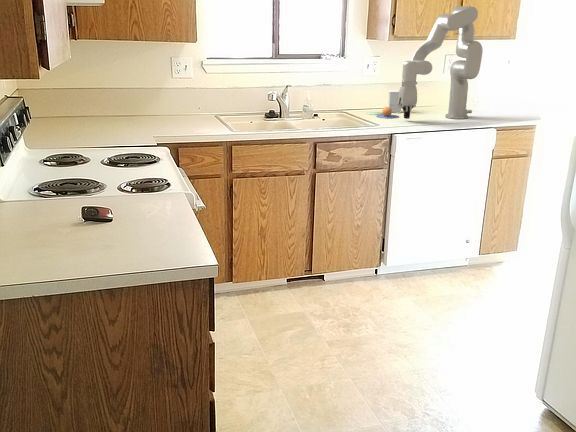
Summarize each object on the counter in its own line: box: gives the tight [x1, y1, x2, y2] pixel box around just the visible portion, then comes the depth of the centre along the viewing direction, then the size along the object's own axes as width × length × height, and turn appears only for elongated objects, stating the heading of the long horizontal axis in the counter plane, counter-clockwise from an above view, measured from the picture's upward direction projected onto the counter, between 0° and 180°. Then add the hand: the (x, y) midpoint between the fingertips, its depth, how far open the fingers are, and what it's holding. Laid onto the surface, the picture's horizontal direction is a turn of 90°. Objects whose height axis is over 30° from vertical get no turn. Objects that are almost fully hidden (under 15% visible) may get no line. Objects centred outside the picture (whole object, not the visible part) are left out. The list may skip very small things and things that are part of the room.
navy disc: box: [375, 114, 400, 119], centre depth 345 cm, size 13×13×1 cm
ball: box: [381, 106, 393, 116], centre depth 344 cm, size 6×6×6 cm
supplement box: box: [387, 89, 402, 114], centre depth 359 cm, size 7×7×13 cm
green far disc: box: [367, 111, 382, 116], centre depth 355 cm, size 10×10×1 cm
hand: (406, 118), depth 330 cm, fingers closed
